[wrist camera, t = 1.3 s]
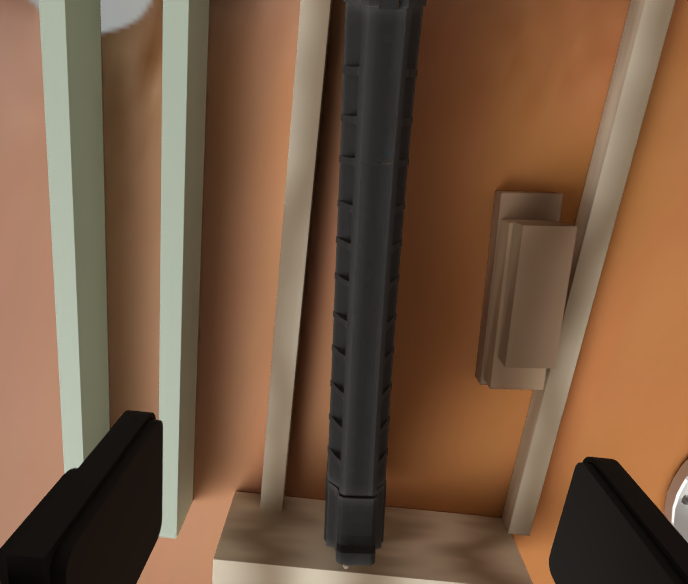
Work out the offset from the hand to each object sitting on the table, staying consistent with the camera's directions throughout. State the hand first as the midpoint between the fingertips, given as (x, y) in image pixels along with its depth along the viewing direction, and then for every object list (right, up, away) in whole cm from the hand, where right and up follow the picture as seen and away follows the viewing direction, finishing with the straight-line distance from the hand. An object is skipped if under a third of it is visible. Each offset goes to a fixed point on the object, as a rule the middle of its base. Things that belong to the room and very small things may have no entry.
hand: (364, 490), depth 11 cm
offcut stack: (+10, +5, +20) cm, 23 cm away
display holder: (-13, +7, +19) cm, 24 cm away
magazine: (+1, +6, +20) cm, 21 cm away
